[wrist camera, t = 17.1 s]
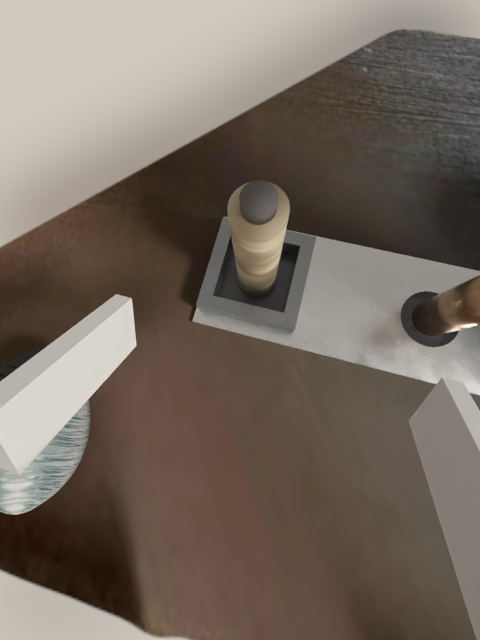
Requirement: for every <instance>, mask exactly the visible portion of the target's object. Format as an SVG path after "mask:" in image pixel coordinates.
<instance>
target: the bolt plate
mask: <svg viewBox="0 0 480 640" xmlns="http://www.w3.org/2000/svg"><path fill="white" fill-rule="evenodd" d="M196 306H197V308H196V311H195V314H194V318H193V321H192V322H194V323H198V324H201V325H205V326H209V327H213V328H217V329H221V330H225V331H229V332H233V333H236V334H240V335H244V336H248V337H252V338H256V339H260V340H264V341H268V342H271V343H275V344H279V345H283V346H287V347H291V348H295V349H299V350H302V351H306V352H310V353H314V354H318V355H322V356H326V357H330V358H334V359H337V360H341V361H345V362H349V363H353V364H357V365H361V366H365V367H369V368H372V369H376V370H380V371H384V372H388V373H392V374H396V375H400V376H404V377H407V378H411V379H415V380H419V381H423V382H427V383H431V384H435V385H436V384H437V383H438V382H439V380H440V379H441V378H442V377H444V378H448V379H452V380H456V381H459V382H463V383H464V385H465V387H466V388H467V390H468V392H469V393H470V394H473V395H480V271H477V270H472V269H468V268H463V267H458V266H454V265H449V264H444V263H440V262H435V261H430V260H426V259H421V258H416V257H412V256H407V255H402V254H398V253H393V252H388V251H383V250H379V249H374V248H369V247H365V246H360V245H355V244H351V243H346V242H341V241H337V240H332V239H327V238H323V237H318V236H313V235H308V234H304V233H299V232H294V231H290V230H286V232H285V237H284V241H283V246H282V251H281V256H280V260H279V265H278V270H277V274H276V279H275V283H274V286H273V287H272V289H271V290H270V291H269V292H267V293H266V294H263V295H260V296H254V295H250V294H248V293H246V292H245V291H244V290H243V289H242V288H241V286H240V284H239V280H238V274H237V268H236V262H235V256H234V249H233V243H232V237H231V231H230V225H229V218H228V217H223V219H222V222H221V225H220V229H219V232H218V235H217V238H216V242H215V245H214V248H213V251H212V255H211V258H210V261H209V264H208V267H207V271H206V274H205V277H204V280H203V284H202V287H201V290H200V293H199V297H198V300H197V303H196Z"/></svg>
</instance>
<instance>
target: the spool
mask: <svg viewBox="0 0 480 640" xmlns="http://www.w3.org/2000/svg"><path fill="white" fill-rule="evenodd" d="M89 428H90V405H89V399H88V400H87V401H86V402H85V403H84V405H83V406H82V407H81V408H80V409H79V410H78V411H77V412H76V413H75V415H74V416H73V417H72V418H71V419H70V420H69V421H68V422H67V423H66V425H65V426H64V427H63V428H62V429H61V430H60V431H59V432H58V434H57V435H56V436H55V437H54V438H53V439H52V440H51V441H50V442H49V444H48V445H47V446H46V447H45V448H44V449H43V450H42V451H41V452H40V454H39V455H38V456H37V457H36V458H35V459H34V460H33V461H32V462H31V464H30V465H29V466H28V467H27V468H26V469H25V470H24V471H23V472H22V474H21V475H18V474H15V473H12V472H9V471H7V470H4V469H1V468H0V512H3V513H5V514H15V515H17V514H21V513H25V512H27V511H30V510H32V509H34V508H35V507H37V506H39V505H40V504H42V503H43V502H45V501H46V500H47V499H49V498H50V497H52V496H53V495H54V494H55V493H56V492H57V491H58V490H59V489H60V488H61V487H62V486H63V485H64V484H65V483H66V482H67V481H68V479H69V478H70V477H71V476H72V474H73V473H74V472H75V470H76V468H77V466H78V464H79V463H80V461H81V458H82V456H83V453H84V450H85V447H86V444H87V441H88V436H89Z"/></svg>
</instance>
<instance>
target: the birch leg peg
mask: <svg viewBox="0 0 480 640" xmlns="http://www.w3.org/2000/svg"><path fill="white" fill-rule="evenodd" d="M227 211H228V218H229V225H230V231H231V237H232V243H233V249H234V256H235V262H236V268H237V274H238V280H239V284H240V286H241V288H242V289H243V290H244V291H245V292H246V293H248V294H250V295H254V296H260V295H263V294H266V293H267V292H269V291H270V290H271V289H272V287H273V286H274V283H275V279H276V274H277V270H278V265H279V260H280V256H281V251H282V246H283V241H284V237H285V232H286V227H287V223H288V218H289V213H290V203H289V200H288V198H287V196H286V194H285V193H284V191H283V190H282V189H281V188H279V187H278V186H277V185H275V184H273V183H270V182H266V181H262V180H256V181H252V182H249V183H246V184H244V185H242V186H240V187H239V188H238V189H236V190H235V191H234V193H233V194H232V195H231V197H230V199H229V202H228V207H227Z"/></svg>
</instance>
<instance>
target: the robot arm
mask: <svg viewBox="0 0 480 640" xmlns="http://www.w3.org/2000/svg"><path fill="white" fill-rule="evenodd" d="M135 347H136V336H135V325H134V315H133V305H132V298H129V297H125V296H121V295H117V294H116V295H115V296H113V297H112V298H111V299H109V300H108V301H107V302H105V303H104V304H103V305H101V306H100V307H99V308H97V309H96V310H95V311H93V312H92V313H91V314H89V315H88V316H87V317H85V318H84V319H83V320H81V321H80V322H79V323H77V324H76V325H75V326H73V327H72V328H71V329H69V330H68V331H67V332H65V333H64V334H63V335H61V336H60V337H59V338H57V339H56V340H55V341H53V342H52V343H51V344H49V345H48V346H47V347H46V348H41V347H36V348H34V349H31V350H29V351H27V352H24V353H22V354H20V355H19V356H17V357H16V358H14V359H13V360H12V361H10V362H9V363H7V365H6V366H3V367H2V368H0V468H1V469H4V470H7V471H9V472H12V473H15V474H18V475H21V474H22V472H23V471H24V470H25V469H26V468H27V467H28V466H29V465H30V464H31V462H32V461H33V460H34V459H35V458H36V457H37V456H38V455H39V454H40V452H41V451H42V450H43V449H44V448H45V447H46V446H47V445H48V444H49V442H50V441H51V440H52V439H53V438H54V437H55V436H56V435H57V434H58V432H59V431H60V430H61V429H62V428H63V427H64V426H65V425H66V423H67V422H68V421H69V420H70V419H71V418H72V417H73V416H74V415H75V413H76V412H77V411H78V410H79V409H80V408H81V407H82V406H83V405H84V403H85V402H86V401H87V400H88V399H89V398H90V397H91V396H92V395H93V393H94V392H95V391H96V390H97V389H98V388H99V387H100V386H101V385H102V383H103V382H104V381H105V380H106V379H107V378H108V377H109V376H110V375H111V373H112V372H113V371H114V370H115V369H116V368H117V367H118V366H119V365H120V363H121V362H122V361H123V360H124V359H125V358H126V357H127V356H128V355H129V353H130V352H131V351H132V350H133V349H134V348H135ZM409 424H410V427H411V430H412V433H413V437H414V440H415V443H416V446H417V450H418V453H419V456H420V459H421V462H422V466H423V469H424V472H425V475H426V479H427V482H428V485H429V488H430V491H431V495H432V498H433V501H434V504H435V508H436V511H437V514H438V517H439V520H440V524H441V527H442V530H443V533H444V537H445V540H446V543H447V546H448V549H449V553H450V556H451V559H452V562H453V566H454V569H455V572H456V575H457V578H458V582H459V585H460V588H461V591H462V595H463V598H464V601H465V604H466V607H467V611H468V614H469V617H470V620H471V624H472V627H473V630H474V633H475V636H476V639H478V640H480V411H479V409H478V407H477V405H476V404H475V402H474V400H473V399H472V397H471V395H470V393H469V392H468V390H467V388H466V387H465V385H464V383H463V382H459V381H456V380H452V379H448V378H444V377H442V378H441V379H440V380H439V382H438V383H437V384H436V386H435V387H434V388H433V390H432V391H431V392H430V394H429V395H428V396H427V397H426V399H425V400H424V401H423V403H422V404H421V405H420V407H419V408H418V409H417V411H416V412H415V413H414V414H413V416H412V417H411V418H410V420H409Z"/></svg>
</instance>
